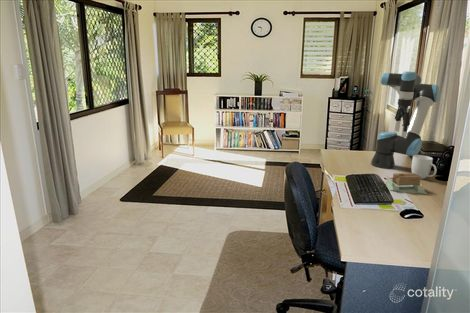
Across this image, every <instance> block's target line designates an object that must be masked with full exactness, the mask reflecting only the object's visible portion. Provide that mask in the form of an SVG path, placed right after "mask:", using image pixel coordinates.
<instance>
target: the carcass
mask: <svg viewBox="0 0 470 313" xmlns="http://www.w3.org/2000/svg"><path fill="white" fill-rule="evenodd" d="M385 179H386V181H384V182H385V183H386V185H387V186H388V187H387V186H386V185H385V186H386V187H387V189H388V188H389V189H388V190H389V191H390V190H391V191H390V192H397V191H400V192H399V193H410V194H421V195H427V192H426V191H425V187H423V184H422V183H420V185H400V186H398V185H397V184H395V183H393V182H392V179H393V178H390V177H389V176H388V175H386V176H385ZM385 183H384V184H385Z"/></svg>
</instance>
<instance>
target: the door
mask: <svg viewBox="0 0 470 313" xmlns="http://www.w3.org/2000/svg"><path fill="white" fill-rule="evenodd" d="M391 179H392V182H393V183H395V184H397V185H398V186H400V185H421V180H422V179H421V176H419V175H417V174H415V173H412V172H405V173H404V172H402V173H400V172H399V173H397V172H396V173H393V175H392V178H391Z"/></svg>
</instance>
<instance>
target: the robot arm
mask: <svg viewBox="0 0 470 313" xmlns="http://www.w3.org/2000/svg"><path fill="white" fill-rule="evenodd" d="M422 80H423V79H422V76H420V75H419V74H417V71H403V72H402V73H396V72H395V73H393V72H392V73H391V72H383V73H382V75H381V77H380V84H381V85H383V86H389V87H390V88H391V89H393V90H395V91H396V92H397V94H398V100H397V105H398V106H397V110H396V113H395V116H394V119H395V123H394V128H393V129H394V131H383V132H382V131H381V132H379V133H378V135H377V138H376V146H375V152H374V155H373V157H372V159H371V162H370V164H371V165H372V166H374V167H377V168H382V169H393V168H395V165H396V162H395V156H394V155H395V154H400V155H404V156H405V155H407V156H412V157H413V156H414V155H419V152H420V151H421V148H422V146H423V139H422V136H421V135H420V134H421V133H422V129H423V126H424V123H425V120H426V118H427V115H428V112H429V110H430V108H431V107H432V106H434V104H435V103H438V100H439V96H440V86H439V85H438V84H433V83H432V84H430V83H422ZM413 101H414V103H415V106H414V108H413V111H412V114H410V113H411V109H410V108H409V107H411V106H412V105H413ZM401 122H403V123H402V125H401ZM401 126H402V127H401ZM400 127H401V128H400ZM400 129H401V132H400ZM397 132H398V133H399V132H400V135H398V133H397ZM394 153H395V154H394Z"/></svg>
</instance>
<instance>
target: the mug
mask: <svg viewBox="0 0 470 313" xmlns="http://www.w3.org/2000/svg"><path fill="white" fill-rule="evenodd" d="M411 160H412V161H411V173H415V174H417V175H419V176H421V179H420V180H423V179H426V178H427V177H429V178H430V177H434V176H436V174H437V172H438V171H437V170H438V169H437V166H436V165H435V164H433V160H434V158H433V157H432V156H427V155H422V154H417V155H414V156H412V159H411ZM432 167H433V169H434V170H433V174H431V175H430V173H431V169H432Z"/></svg>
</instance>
